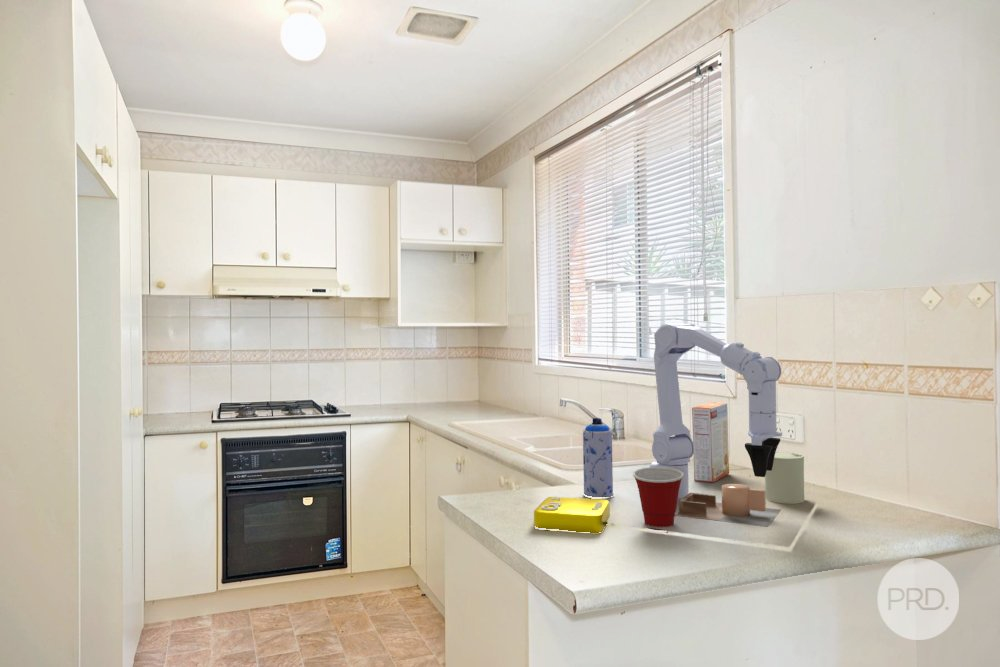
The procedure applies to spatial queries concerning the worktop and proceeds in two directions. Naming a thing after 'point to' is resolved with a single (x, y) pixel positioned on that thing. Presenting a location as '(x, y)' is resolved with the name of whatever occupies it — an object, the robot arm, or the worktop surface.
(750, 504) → the capsule with rectangular tab
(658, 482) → the plastic cup
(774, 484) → the can
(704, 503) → the cradle
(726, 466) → the cracker box
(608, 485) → the aerosol can
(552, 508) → the element tile
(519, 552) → the worktop surface
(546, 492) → the worktop surface
